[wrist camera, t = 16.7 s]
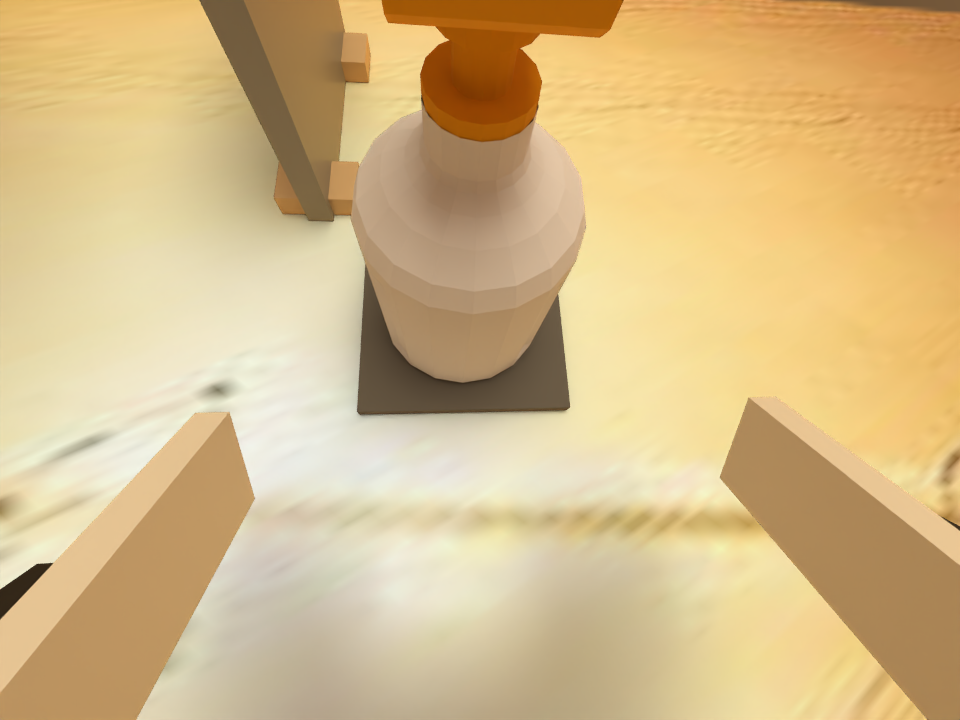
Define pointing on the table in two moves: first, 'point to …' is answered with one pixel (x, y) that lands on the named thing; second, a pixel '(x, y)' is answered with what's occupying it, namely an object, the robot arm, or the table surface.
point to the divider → (297, 92)
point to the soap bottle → (473, 189)
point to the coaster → (411, 390)
